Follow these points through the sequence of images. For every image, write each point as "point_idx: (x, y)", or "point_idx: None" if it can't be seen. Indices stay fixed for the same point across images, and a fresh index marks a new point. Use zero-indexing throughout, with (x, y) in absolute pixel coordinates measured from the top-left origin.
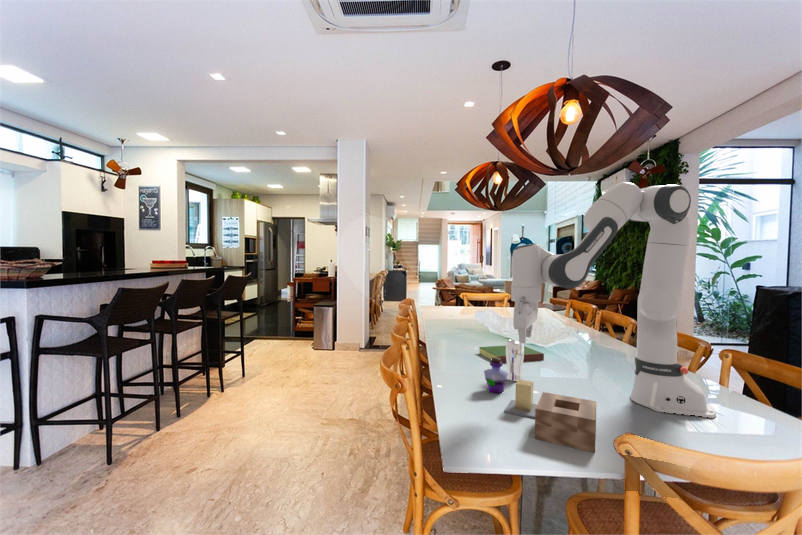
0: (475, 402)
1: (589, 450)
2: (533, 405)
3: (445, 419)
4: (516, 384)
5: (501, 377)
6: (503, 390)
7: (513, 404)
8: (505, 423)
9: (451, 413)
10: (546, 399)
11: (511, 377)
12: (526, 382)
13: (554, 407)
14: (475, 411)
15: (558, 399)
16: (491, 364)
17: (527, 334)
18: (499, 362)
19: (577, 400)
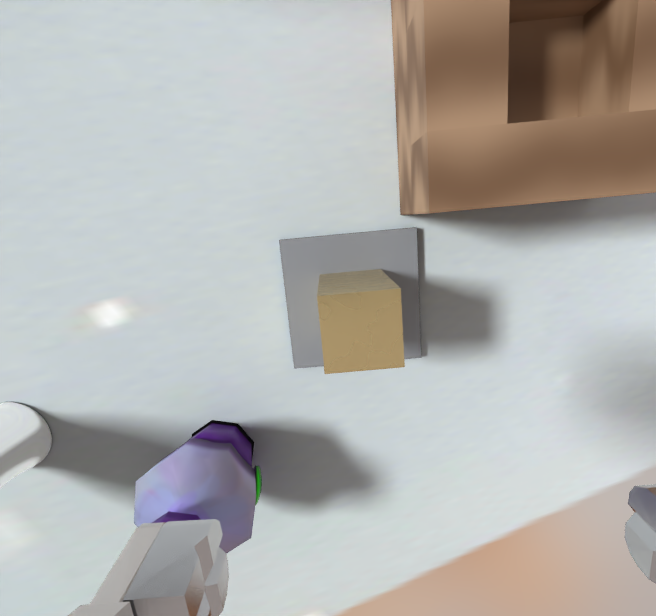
0: (386, 468)
1: None
2: (301, 276)
3: (584, 489)
4: (402, 361)
5: (234, 466)
6: (211, 425)
7: None
8: (516, 320)
9: (528, 493)
10: (540, 169)
11: (37, 447)
12: (351, 324)
13: (643, 103)
14: (468, 438)
15: (507, 110)
16: None
17: (205, 595)
18: None
19: (468, 4)
